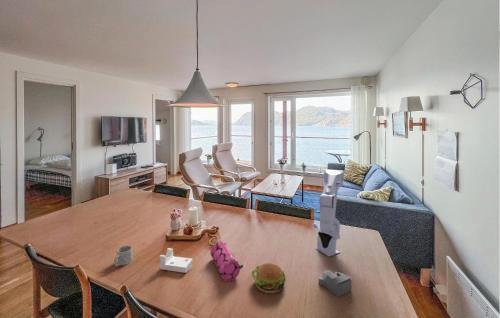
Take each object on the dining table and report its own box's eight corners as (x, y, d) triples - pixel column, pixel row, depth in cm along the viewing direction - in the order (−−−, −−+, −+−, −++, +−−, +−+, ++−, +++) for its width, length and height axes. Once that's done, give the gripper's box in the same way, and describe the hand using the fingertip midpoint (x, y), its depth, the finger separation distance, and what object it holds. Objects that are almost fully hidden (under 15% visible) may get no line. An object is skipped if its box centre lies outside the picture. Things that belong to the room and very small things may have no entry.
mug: (124, 257, 120) (123, 244, 119) (136, 258, 118) (135, 246, 117) (109, 268, 110) (108, 255, 109) (121, 270, 109) (120, 257, 108)
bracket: (160, 271, 108) (159, 255, 107) (169, 262, 115) (168, 248, 114) (186, 274, 106) (185, 259, 104) (193, 265, 112) (192, 251, 111)
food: (252, 273, 106) (252, 257, 104) (283, 274, 105) (283, 258, 104) (251, 295, 92) (251, 277, 91) (286, 296, 92) (287, 278, 90)
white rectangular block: (322, 280, 101) (323, 272, 100) (328, 278, 103) (328, 269, 102) (339, 293, 93) (339, 284, 93) (345, 290, 95) (345, 281, 94)
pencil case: (243, 278, 103) (243, 257, 101) (223, 285, 98) (222, 263, 97) (226, 254, 122) (226, 236, 120) (208, 259, 117) (207, 240, 116)
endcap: (317, 283, 99) (318, 271, 98) (334, 276, 104) (335, 265, 103) (335, 298, 91) (336, 285, 90) (353, 289, 95) (353, 277, 94)
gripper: (308, 215, 112) (308, 242, 114) (332, 227, 99) (330, 257, 101) (319, 213, 115) (318, 239, 117) (343, 224, 102) (342, 253, 104)
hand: (325, 247), depth 109 cm, fingers closed
